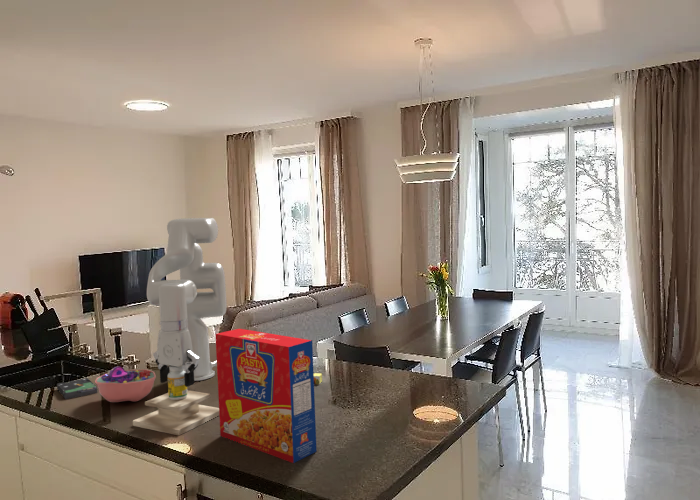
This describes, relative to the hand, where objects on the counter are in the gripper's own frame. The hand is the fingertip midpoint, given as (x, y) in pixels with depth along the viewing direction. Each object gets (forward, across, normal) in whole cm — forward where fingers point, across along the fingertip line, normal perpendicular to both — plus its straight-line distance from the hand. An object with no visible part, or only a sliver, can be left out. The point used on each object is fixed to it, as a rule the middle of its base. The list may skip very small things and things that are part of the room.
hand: (177, 383), depth 162 cm
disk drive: (+11, -55, +6) cm, 57 cm away
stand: (+11, 0, 0) cm, 11 cm away
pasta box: (+11, +34, -4) cm, 36 cm away
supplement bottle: (+4, 0, 0) cm, 5 cm away
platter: (+11, +11, +42) cm, 45 cm away
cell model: (+11, -29, +6) cm, 32 cm away
